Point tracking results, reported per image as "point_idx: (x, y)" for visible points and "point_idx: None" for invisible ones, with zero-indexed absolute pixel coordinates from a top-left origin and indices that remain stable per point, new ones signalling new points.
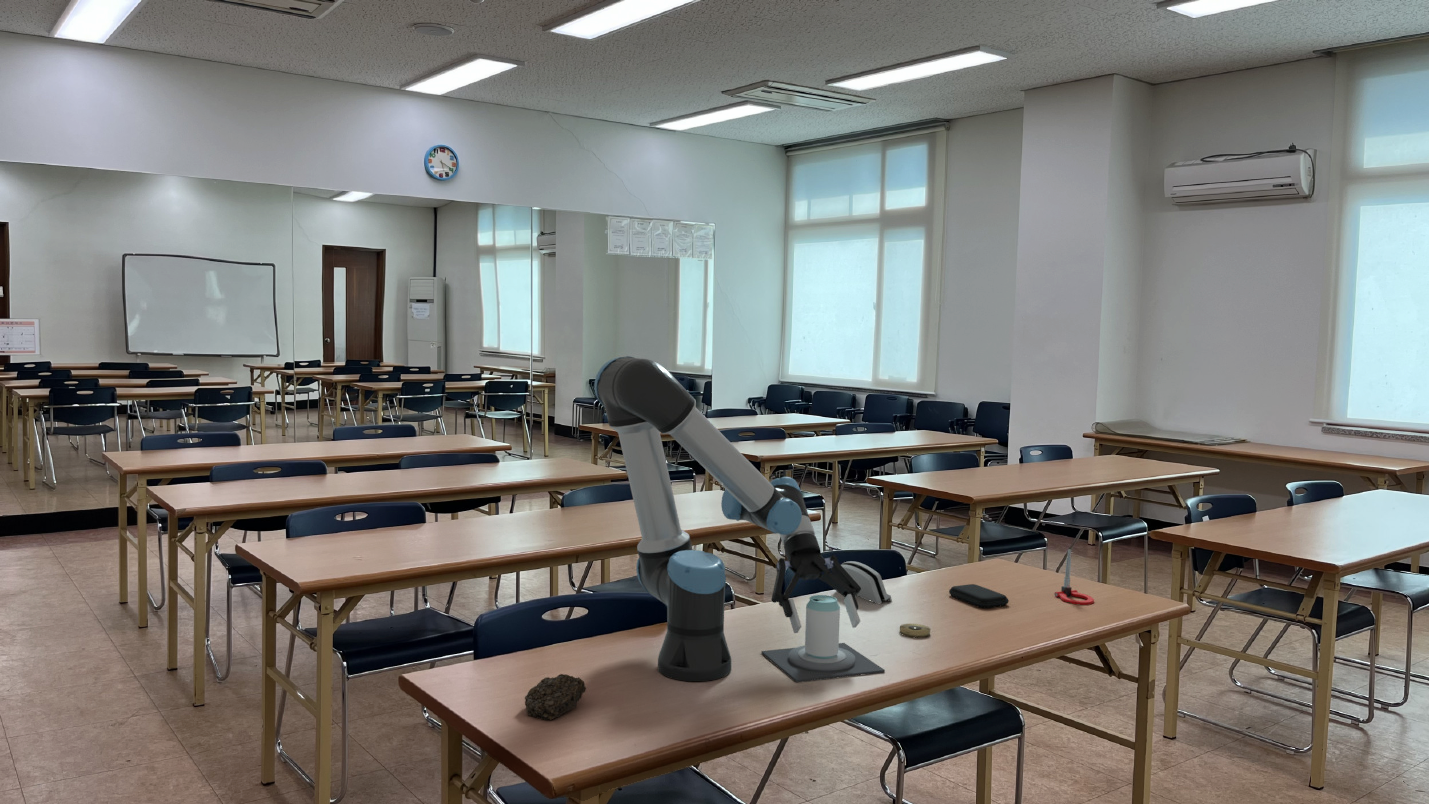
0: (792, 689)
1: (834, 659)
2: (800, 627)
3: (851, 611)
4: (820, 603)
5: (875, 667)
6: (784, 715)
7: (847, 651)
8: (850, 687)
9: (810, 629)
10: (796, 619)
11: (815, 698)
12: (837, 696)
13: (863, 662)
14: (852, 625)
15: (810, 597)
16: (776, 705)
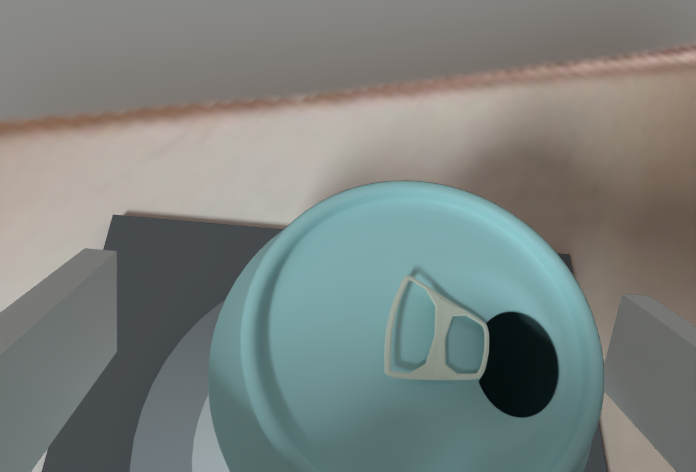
0: (600, 204)
1: None
2: (622, 308)
3: (69, 337)
4: (514, 227)
5: (131, 255)
6: (675, 54)
7: (142, 467)
8: (368, 143)
9: (497, 374)
10: (685, 321)
11: (540, 113)
12: (457, 99)
13: (136, 338)
14: (112, 349)
15: (582, 440)
16: (687, 115)
